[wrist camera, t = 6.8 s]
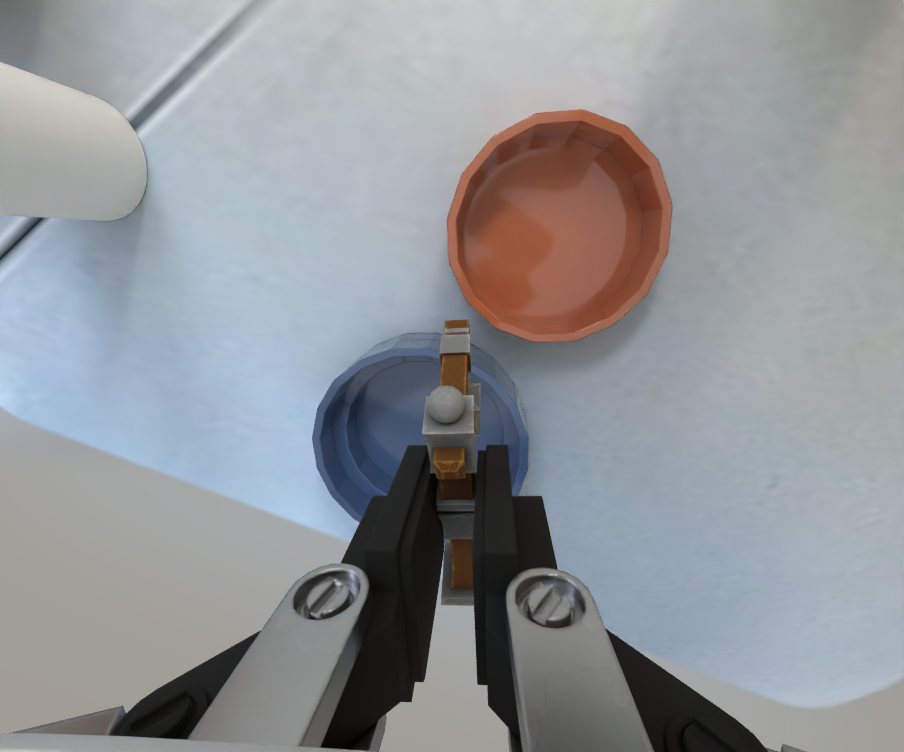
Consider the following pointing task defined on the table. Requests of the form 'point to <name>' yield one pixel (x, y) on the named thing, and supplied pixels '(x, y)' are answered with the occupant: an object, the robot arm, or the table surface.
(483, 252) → the shallow terracotta dish
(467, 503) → the wooden post with brackets
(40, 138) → the cylindrical container
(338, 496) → the bowl
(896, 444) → the table surface
